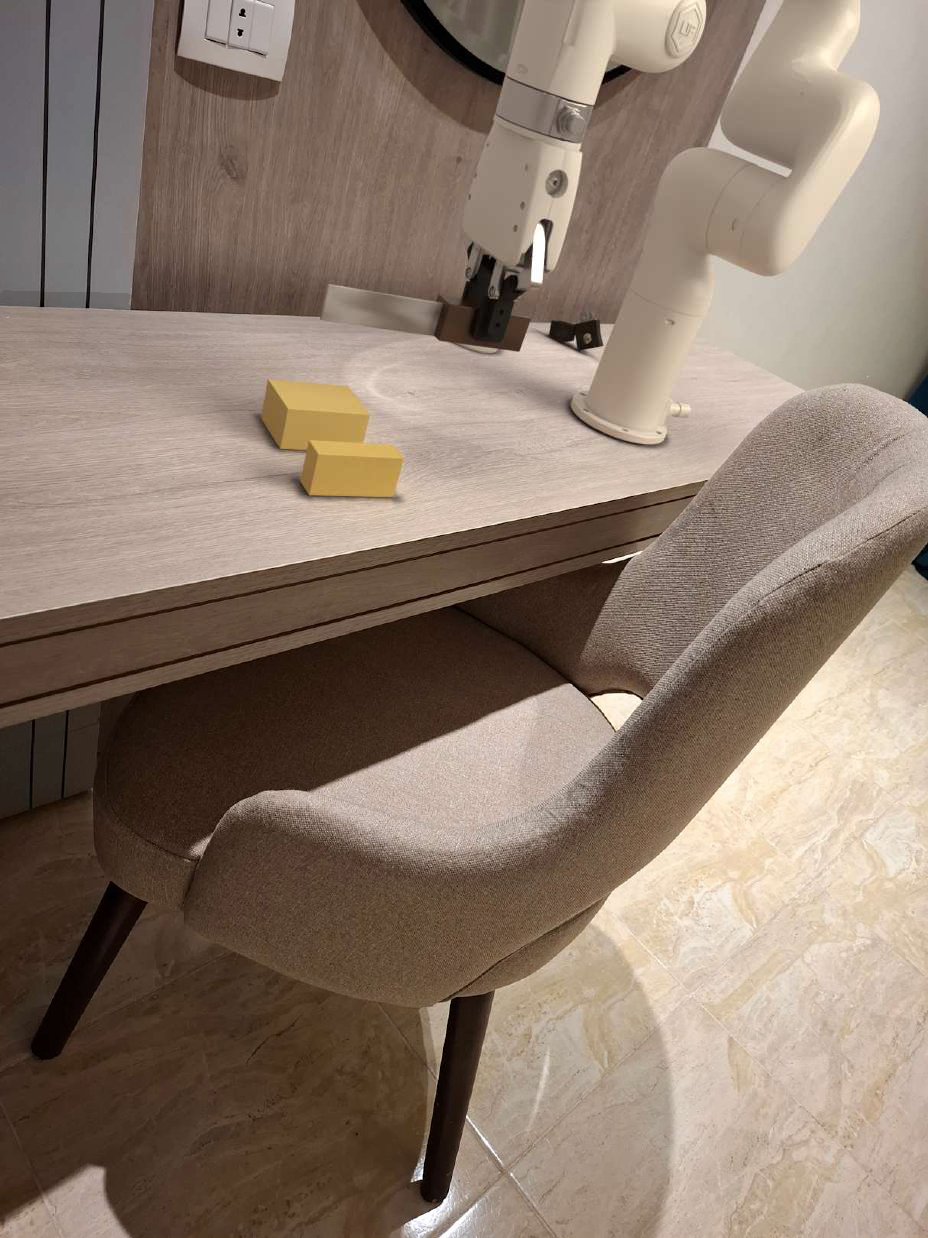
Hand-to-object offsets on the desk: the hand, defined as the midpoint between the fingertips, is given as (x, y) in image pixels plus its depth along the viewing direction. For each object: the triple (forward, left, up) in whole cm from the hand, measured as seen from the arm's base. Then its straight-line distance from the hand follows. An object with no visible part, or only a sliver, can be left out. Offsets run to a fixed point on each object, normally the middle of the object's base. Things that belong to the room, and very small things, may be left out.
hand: (478, 331), depth 84 cm
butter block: (+13, -2, -13) cm, 18 cm away
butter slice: (+13, +7, -13) cm, 20 cm away
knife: (+6, 0, -1) cm, 6 cm away
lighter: (-40, -36, -13) cm, 55 cm away
